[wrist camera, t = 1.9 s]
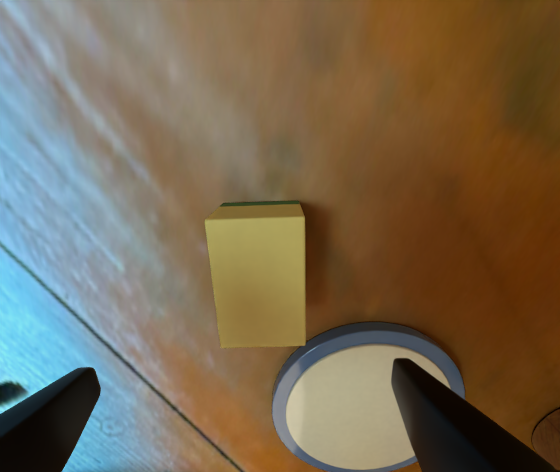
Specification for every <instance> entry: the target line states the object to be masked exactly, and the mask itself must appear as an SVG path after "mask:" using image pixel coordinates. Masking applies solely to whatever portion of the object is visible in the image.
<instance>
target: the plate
mask: <svg viewBox="0 0 560 472" xmlns="http://www.w3.org/2000/svg"><path fill="white" fill-rule="evenodd" d="M396 358H409V359H411V360H412V361H413V362H415V363H416V364H417V365H419V366H420V367H421V368H423V369H424V370H426V371H427V372H428V373H430V374H431V375H432V376H434V377H435V378H436V379H438V380H439V381H440V382H442V383H443V384H444V385H446V386H447V387H448V388H450V389H451V390H452V391H454V392H455V393H456V394H458V395H459V396H460V397H462V398H463V399H464V400H465V388H464V384H463V379H462V377H461V374H460V372H459V370H458V368H457V366H456V365H455V363H454V362H453V360H452V359H451V358H450V357H449V356H448V354H447V353H446V352H445V351H444V350H443V349H442V348H441V347H440V345H438V344H437V343H436V342H435V341H433V340H432V339H431V338H429V337H428V336H426V335H424V334H423V333H421V332H419V331H416V330H414V329H411V328H409V327H405V326H402V325H398V324H392V323H385V322H363V323H354V324H349V325H344V326H341V327H338V328H334V329H331V330H329V331H326V332H324V333H322V334H320V335H318V336H316V337H314V338H313V339H311V340H309V341H308V342H306V345H305V346H301V347H300V348H298V349H297V350H296V351H295V352H294V353H293V354H292V355H291V356H290V357H289V359H288V360H287V361H286V362H285V364H284V365H283V367H282V368H281V370H280V372H279V374H278V376H277V378H276V381H275V384H274V388H273V393H272V417H273V423H274V426H275V429H276V432H277V434H278V435H279V437H280V439H281V441H282V442H283V443H284V445H285V446H286V447H287V448H288V449H289V450H290V451H291V452H292V453H293V454H294V455H295V456H297V457H298V458H299V459H301V460H303V461H304V462H306V463H308V464H310V465H312V466H314V467H316V468H319V469H322V470H325V471H328V472H389V471H393V470H397V469H400V468H403V467H406V466H408V465H410V464H412V463H415V462H417V458H416V456H415V453H414V451H413V449H412V446H411V443H410V440H409V438H408V435H407V432H406V429H405V426H404V422H403V419H402V416H401V413H400V410H399V407H398V404H397V401H396V398H395V395H394V392H393V389H392V385H391V376H392V368H393V361H394V359H396Z"/></svg>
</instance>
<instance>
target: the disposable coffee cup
mask: <svg viewBox="0 0 560 472" xmlns="http://www.w3.org/2000/svg"><path fill="white" fill-rule="evenodd" d="M532 444H533V446H534V449H535V450H536V451H537V453H538V454H539V455H540V456H541V457H542V458H543V459H545V460H546V461H547V462H549V463H550V464H551V465H553V466H554V468H555V470H560V409H558V410H556V411H554V412H553V413H551V414H550V415H548V416H547V417H546V418H545V419H544V420H542V421H541V422H540V423H539V425H538V426H537V427H536V429H535V431H534V433H533V436H532Z"/></svg>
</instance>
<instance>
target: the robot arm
mask: <svg viewBox="0 0 560 472" xmlns="http://www.w3.org/2000/svg"><path fill="white" fill-rule="evenodd" d="M391 385H392V389H393V392H394V395H395V398H396V401H397V404H398V407H399V410H400V413H401V416H402V419H403V422H404V426H405V429H406V432H407V435H408V438H409V440H410V443H411V446H412V449H413V451H414V453H415V456H416V458H417V461H418V463H419V465H420V467H421V470H422V472H560V470H555V468H554V466H553V465H551V464H550V463H549V462H547V461H546V460H545V459H543V458H542V457H541V456H539V455H538V454H537V453H535V452H534V451H533V450H531V449H530V448H529V447H527V446H526V445H525V444H523V443H522V442H521V441H519V440H518V439H517V438H515V437H514V436H513V435H511V434H510V433H509V432H507V431H506V430H505V429H503V428H502V427H501V426H499V425H498V424H497V423H495V422H494V421H493V420H491V419H490V418H488V417H487V416H486V415H484V414H483V413H482V412H480V411H479V410H478V409H476V408H475V407H474V406H472V405H471V404H470V403H468V402H467V401H466V400H464V399H463V398H462V397H460V396H459V395H458V394H456V393H455V392H454V391H452V390H451V389H450V388H448V387H447V386H446V385H444V384H443V383H442V382H440V381H439V380H438V379H436V378H435V377H434V376H432V375H431V374H430V373H428V372H427V371H426V370H424V369H423V368H421V367H420V366H419V365H417V364H416V363H415V362H413V361H412V360H411V359H409V358H396V359H394V361H393V368H392V376H391ZM100 391H101V388H100V384H99V381H98V378H97V375H96V371H95V369H93V368H91V367H84V368H77V369H75V370H73V371H72V372H70V373H68V374H67V375H65V376H63V377H62V378H60V379H58V380H57V381H55V382H53V383H52V384H50V385H48V386H47V387H45V388H43V389H42V390H40V391H38V392H37V393H35V394H33V395H32V396H30V397H28V398H27V399H25V400H23V401H22V402H20V403H18V404H17V405H15V406H13V407H12V408H10V409H8V410H7V411H5V412H3V413H2V414H0V472H62V470H63V468H64V466H65V465H66V463H67V461H68V459H69V457H70V456H71V454H72V452H73V450H74V448H75V446H76V444H77V442H78V440H79V438H80V436H81V434H82V431H83V429H84V427H85V425H86V423H87V421H88V419H89V417H90V415H91V413H92V411H93V409H94V407H95V405H96V403H97V400H98V398H99V396H100Z"/></svg>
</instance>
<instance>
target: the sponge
mask: <svg viewBox="0 0 560 472" xmlns="http://www.w3.org/2000/svg"><path fill="white" fill-rule="evenodd" d="M205 228H206V236H207V244H208V252H209V260H210V267H211V275H212V283H213V291H214V299H215V307H216V315H217V323H218V331H219V339H220V347H221V348H249V347H283V346H305V345H306V275H305V216H304V213H303V211H302V208H301V206H300V203H299V201H272V202H243V203H223V204H222V205H221V206H220V207H219V208H217V209H216V210H215V211H214V212H213V213H212V214H211V215H210V216H209V217H208V218H207V219H205Z"/></svg>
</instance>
